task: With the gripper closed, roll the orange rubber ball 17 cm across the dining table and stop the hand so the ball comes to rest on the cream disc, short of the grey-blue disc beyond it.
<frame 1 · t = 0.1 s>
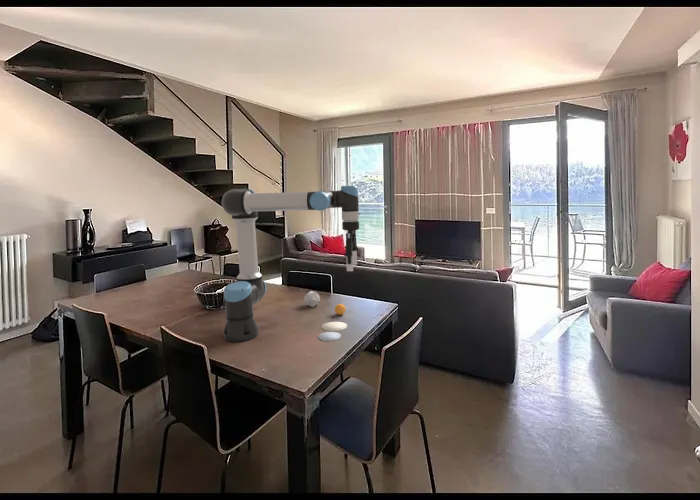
hand: (352, 267, 174), 28 cm above the table, tool pointing down, fingers open, 13 cm apart
ball: (340, 309, 195), on the table
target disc: (334, 326, 179), on the table
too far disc: (329, 336, 167), on the table
die: (312, 306, 212), on the table
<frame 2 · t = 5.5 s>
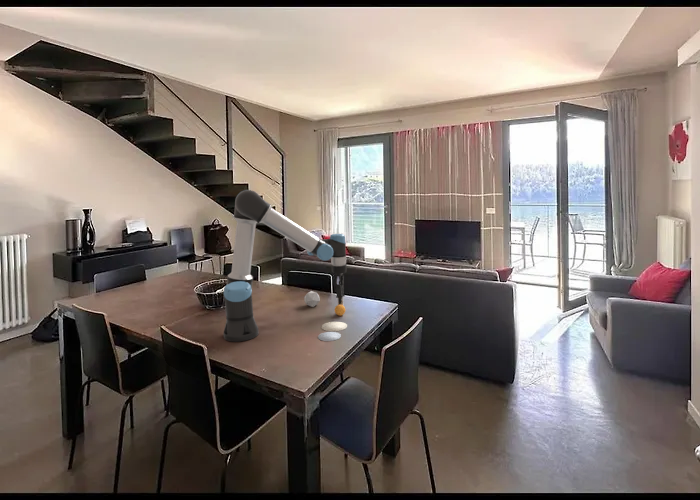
hand: (340, 309, 198), 2 cm above the table, tool pointing down, fingers closed
ball: (339, 310, 194), on the table, touching gripper
everything else where it was.
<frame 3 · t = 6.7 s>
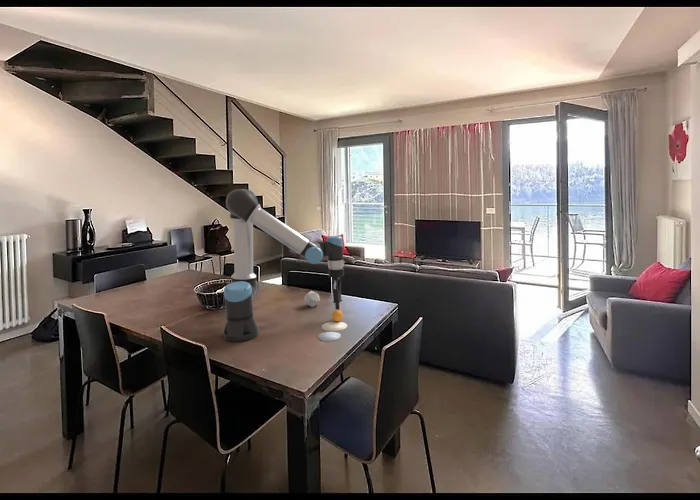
hand: (338, 314, 189), 2 cm above the table, tool pointing down, fingers closed
ball: (337, 315, 186), on the table, touching gripper
everything else where it was.
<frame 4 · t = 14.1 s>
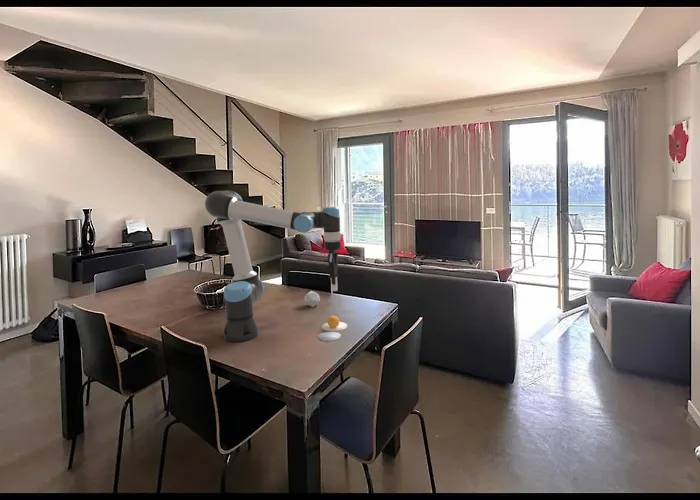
hand: (334, 290, 180), 16 cm above the table, tool pointing down, fingers closed
ball: (333, 321, 178), on the table
everything else where it was.
at the end: ball 1.1 cm from the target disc (horizontally); ball at rest at the end (0.0 cm/s); ball moved 18.1 cm from its start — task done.
